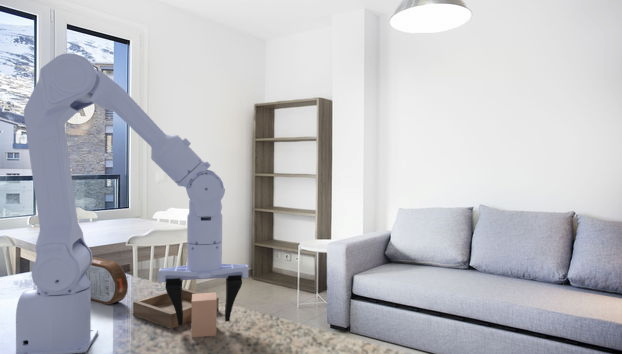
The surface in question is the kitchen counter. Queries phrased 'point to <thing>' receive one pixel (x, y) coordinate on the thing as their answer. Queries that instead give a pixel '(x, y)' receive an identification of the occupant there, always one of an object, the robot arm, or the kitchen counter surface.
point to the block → (204, 314)
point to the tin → (107, 281)
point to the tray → (165, 309)
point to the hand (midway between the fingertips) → (204, 321)
